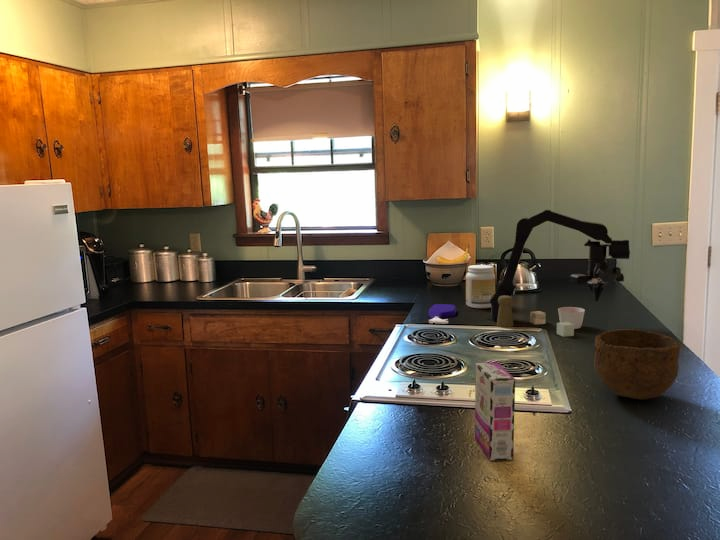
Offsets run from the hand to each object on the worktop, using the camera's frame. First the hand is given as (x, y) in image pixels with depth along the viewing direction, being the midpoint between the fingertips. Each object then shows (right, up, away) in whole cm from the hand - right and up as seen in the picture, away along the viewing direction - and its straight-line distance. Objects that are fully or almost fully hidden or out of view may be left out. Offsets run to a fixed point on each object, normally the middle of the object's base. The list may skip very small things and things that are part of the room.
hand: (595, 301), depth 214 cm
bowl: (-18, -20, -70) cm, 75 cm away
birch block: (-19, -8, +6) cm, 22 cm away
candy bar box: (-58, -25, -95) cm, 114 cm away
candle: (-9, -9, -1) cm, 13 cm away
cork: (-32, -9, +3) cm, 34 cm away
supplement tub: (-34, -4, +37) cm, 51 cm away
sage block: (-15, -11, -12) cm, 22 cm away
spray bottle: (-53, -8, +19) cm, 57 cm away
